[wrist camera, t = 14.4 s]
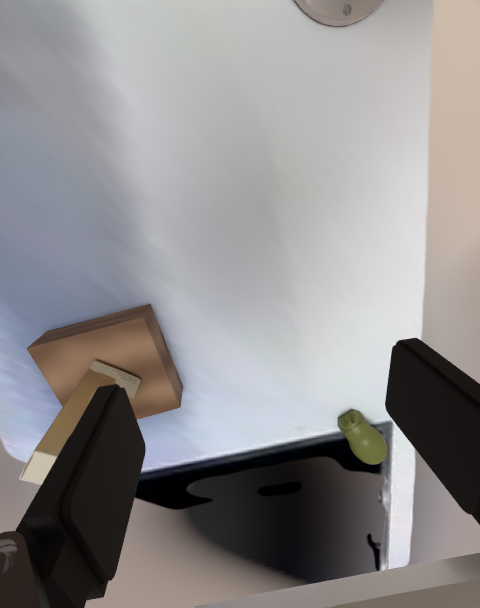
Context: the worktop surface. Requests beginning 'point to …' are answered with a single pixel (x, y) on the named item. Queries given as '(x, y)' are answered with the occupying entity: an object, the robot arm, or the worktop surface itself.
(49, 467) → the skincare box
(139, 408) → the walnut block
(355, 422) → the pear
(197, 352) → the worktop surface
